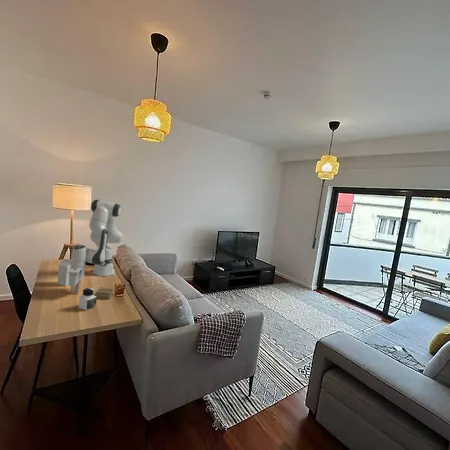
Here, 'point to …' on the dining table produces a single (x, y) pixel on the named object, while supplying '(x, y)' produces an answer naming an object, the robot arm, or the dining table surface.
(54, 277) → the dining table surface
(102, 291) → the tan square block
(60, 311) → the dining table surface
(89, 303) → the medicine bottle
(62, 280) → the milk carton
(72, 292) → the pink block
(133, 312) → the dining table surface
